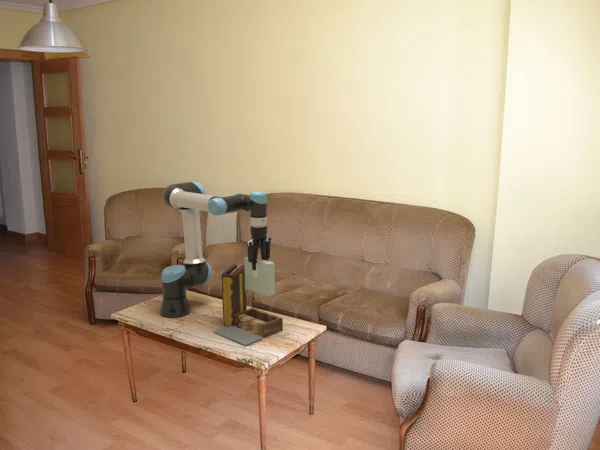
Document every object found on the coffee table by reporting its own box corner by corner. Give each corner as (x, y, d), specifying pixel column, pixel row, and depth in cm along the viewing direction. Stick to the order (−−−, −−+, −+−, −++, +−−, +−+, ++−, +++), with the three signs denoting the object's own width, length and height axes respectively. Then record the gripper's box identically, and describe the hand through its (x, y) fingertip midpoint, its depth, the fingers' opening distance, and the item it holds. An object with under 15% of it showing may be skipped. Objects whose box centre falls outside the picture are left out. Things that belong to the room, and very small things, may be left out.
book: (236, 326, 251) (235, 276, 246) (219, 325, 253) (218, 274, 248) (250, 310, 272) (249, 263, 267) (234, 309, 274) (233, 262, 269)
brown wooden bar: (238, 326, 251) (238, 315, 250) (243, 324, 254) (243, 313, 253) (262, 336, 240) (262, 325, 239) (268, 334, 243) (268, 322, 241)
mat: (213, 332, 244) (213, 331, 244) (230, 326, 251) (230, 325, 251) (245, 346, 229) (245, 344, 229) (262, 339, 237) (262, 338, 236)
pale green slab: (244, 288, 251) (244, 257, 248) (251, 286, 254) (250, 256, 251) (268, 296, 240) (268, 264, 237) (274, 294, 243) (274, 262, 240)
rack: (234, 325, 252) (234, 313, 251) (253, 319, 260) (252, 307, 259) (264, 337, 238) (264, 325, 237) (282, 330, 247) (282, 318, 246)
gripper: (250, 229, 232) (250, 281, 237) (278, 224, 244) (278, 273, 249) (238, 227, 237) (239, 277, 242) (266, 222, 249) (267, 270, 254)
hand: (259, 275), depth 245 cm, fingers closed on pale green slab, 4 cm apart
